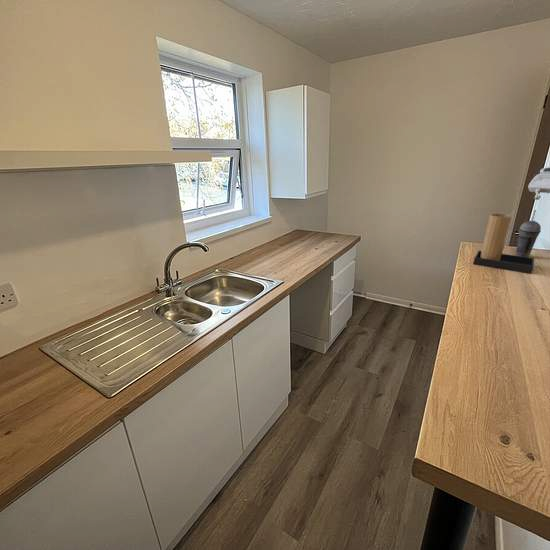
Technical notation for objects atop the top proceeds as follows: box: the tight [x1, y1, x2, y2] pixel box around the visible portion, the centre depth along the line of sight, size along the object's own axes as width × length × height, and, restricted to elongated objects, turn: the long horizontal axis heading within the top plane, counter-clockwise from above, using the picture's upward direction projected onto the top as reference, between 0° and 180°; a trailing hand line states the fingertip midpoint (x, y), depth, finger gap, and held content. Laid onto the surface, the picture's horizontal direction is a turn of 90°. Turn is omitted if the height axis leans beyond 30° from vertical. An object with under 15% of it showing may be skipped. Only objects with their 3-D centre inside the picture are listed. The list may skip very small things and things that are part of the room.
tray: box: [473, 250, 535, 275], centre depth 123 cm, size 19×11×3 cm, turn 51°
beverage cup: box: [515, 209, 542, 258], centre depth 128 cm, size 7×7×20 cm
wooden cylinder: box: [480, 213, 513, 261], centre depth 123 cm, size 7×7×20 cm
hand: (549, 199), depth 129 cm, fingers open, 8 cm apart
